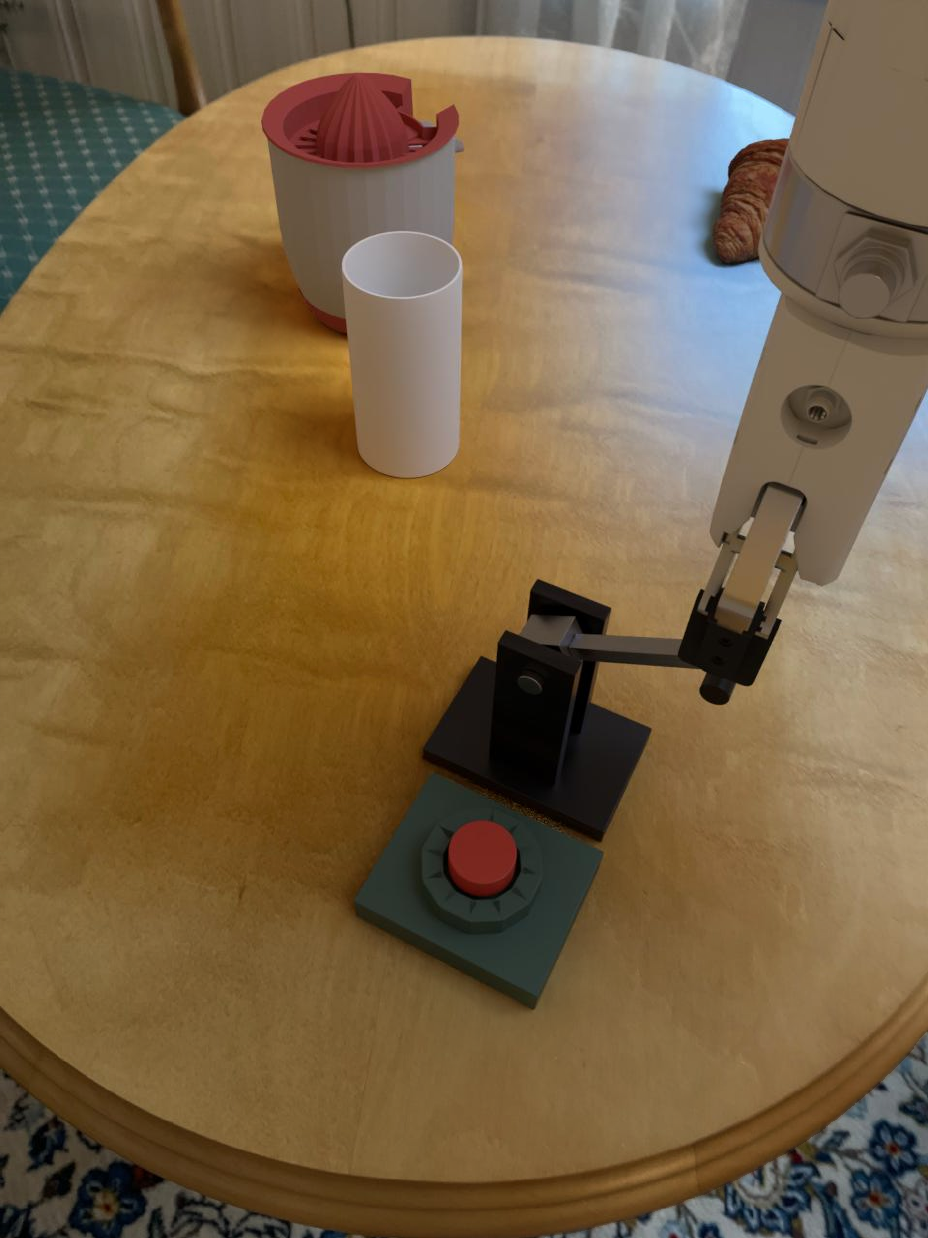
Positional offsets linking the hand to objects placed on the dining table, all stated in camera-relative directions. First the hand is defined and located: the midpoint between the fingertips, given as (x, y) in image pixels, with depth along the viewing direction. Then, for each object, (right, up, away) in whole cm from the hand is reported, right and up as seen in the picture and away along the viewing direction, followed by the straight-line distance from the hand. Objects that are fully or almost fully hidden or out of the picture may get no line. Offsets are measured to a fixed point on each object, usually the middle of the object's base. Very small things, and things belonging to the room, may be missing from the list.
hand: (750, 587), depth 42 cm
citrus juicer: (-20, +28, +48) cm, 59 cm away
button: (-12, -15, +10) cm, 21 cm away
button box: (-12, -17, +13) cm, 24 cm away
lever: (-4, -4, +8) cm, 9 cm away
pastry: (+20, +39, +57) cm, 72 cm away
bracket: (-8, -10, +19) cm, 22 cm away
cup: (-17, +13, +36) cm, 42 cm away
